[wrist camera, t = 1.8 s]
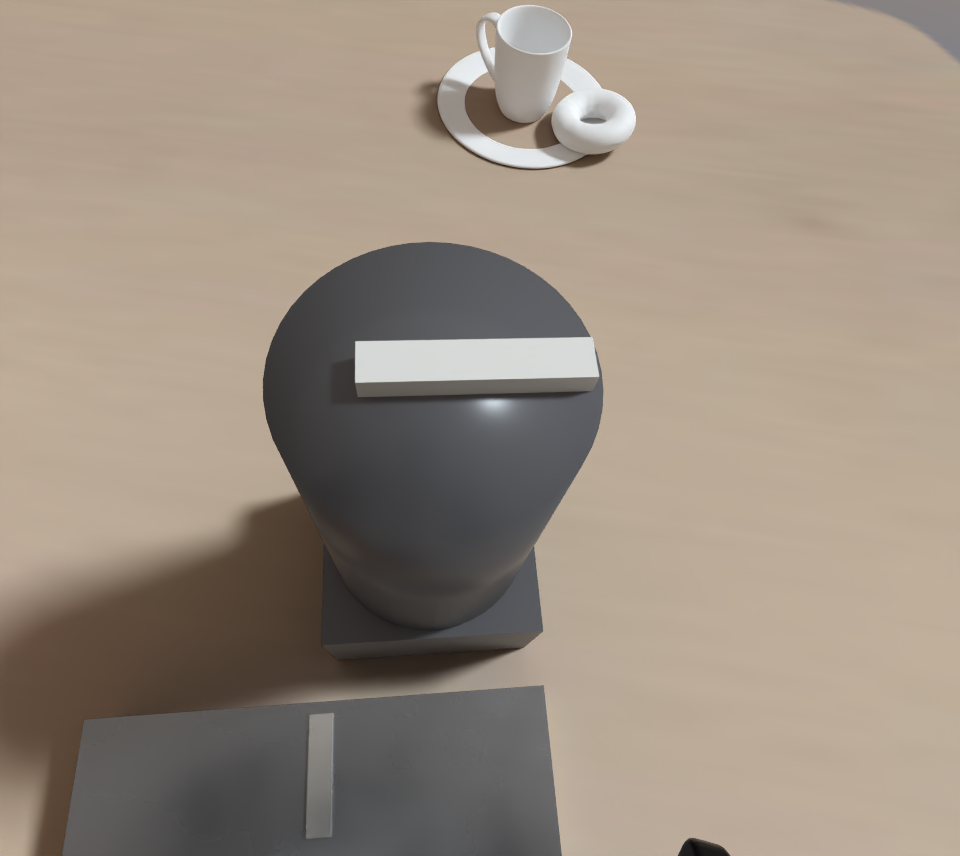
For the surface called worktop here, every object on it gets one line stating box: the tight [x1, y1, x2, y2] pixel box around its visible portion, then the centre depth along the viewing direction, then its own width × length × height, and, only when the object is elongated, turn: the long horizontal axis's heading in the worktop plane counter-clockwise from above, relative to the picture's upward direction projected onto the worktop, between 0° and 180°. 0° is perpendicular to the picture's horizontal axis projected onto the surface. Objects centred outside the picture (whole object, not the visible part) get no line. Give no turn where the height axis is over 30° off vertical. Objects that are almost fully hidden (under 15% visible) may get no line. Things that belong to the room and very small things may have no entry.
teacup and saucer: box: [437, 5, 636, 169], centre depth 29 cm, size 9×8×4 cm
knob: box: [263, 242, 603, 660], centre depth 15 cm, size 6×6×12 cm
